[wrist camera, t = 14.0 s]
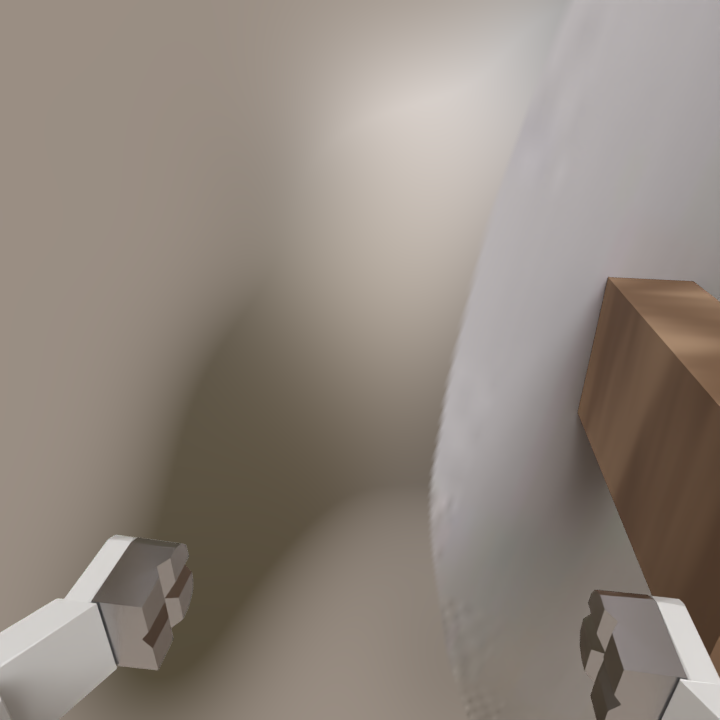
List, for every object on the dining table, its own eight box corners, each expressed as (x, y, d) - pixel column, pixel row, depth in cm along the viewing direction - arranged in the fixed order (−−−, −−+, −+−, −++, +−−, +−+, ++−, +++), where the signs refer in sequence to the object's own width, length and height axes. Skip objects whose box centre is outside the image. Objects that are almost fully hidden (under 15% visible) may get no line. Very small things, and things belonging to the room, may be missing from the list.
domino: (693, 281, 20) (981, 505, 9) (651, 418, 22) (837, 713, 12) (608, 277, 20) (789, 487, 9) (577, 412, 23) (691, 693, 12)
